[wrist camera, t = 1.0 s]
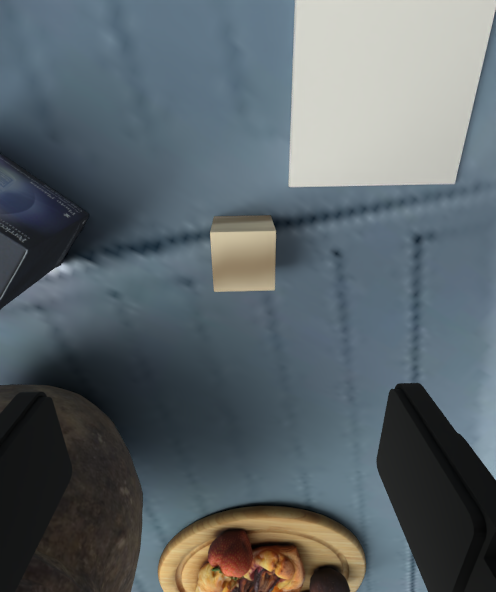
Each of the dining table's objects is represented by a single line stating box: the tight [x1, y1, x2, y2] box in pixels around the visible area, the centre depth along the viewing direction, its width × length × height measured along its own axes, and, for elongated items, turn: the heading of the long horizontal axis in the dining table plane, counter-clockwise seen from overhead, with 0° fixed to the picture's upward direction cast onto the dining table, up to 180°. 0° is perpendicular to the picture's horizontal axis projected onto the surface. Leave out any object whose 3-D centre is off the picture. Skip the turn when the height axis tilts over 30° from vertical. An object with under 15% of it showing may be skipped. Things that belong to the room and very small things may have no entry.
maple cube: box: [210, 215, 276, 292], centre depth 30 cm, size 5×5×5 cm
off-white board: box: [289, 0, 496, 187], centre depth 27 cm, size 14×14×1 cm
